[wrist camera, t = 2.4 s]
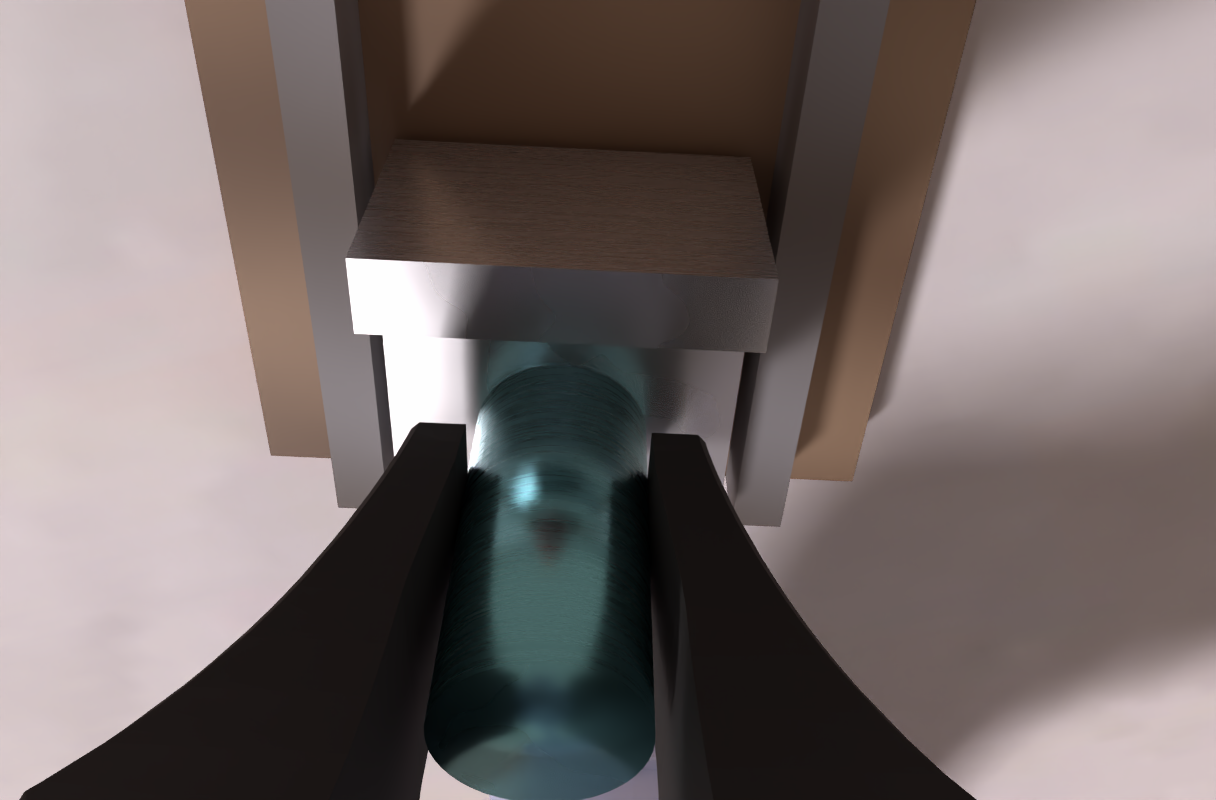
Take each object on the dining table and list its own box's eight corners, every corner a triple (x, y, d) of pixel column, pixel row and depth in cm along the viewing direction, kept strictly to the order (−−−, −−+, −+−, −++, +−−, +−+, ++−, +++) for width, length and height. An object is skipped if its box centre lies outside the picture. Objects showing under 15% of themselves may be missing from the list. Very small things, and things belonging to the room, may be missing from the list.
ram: (703, 486, 18) (739, 872, 12) (421, 473, 18) (333, 857, 12) (750, 157, 14) (830, 501, 9) (395, 138, 14) (254, 474, 9)
